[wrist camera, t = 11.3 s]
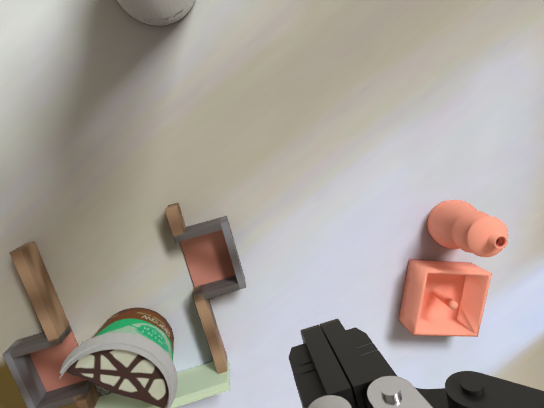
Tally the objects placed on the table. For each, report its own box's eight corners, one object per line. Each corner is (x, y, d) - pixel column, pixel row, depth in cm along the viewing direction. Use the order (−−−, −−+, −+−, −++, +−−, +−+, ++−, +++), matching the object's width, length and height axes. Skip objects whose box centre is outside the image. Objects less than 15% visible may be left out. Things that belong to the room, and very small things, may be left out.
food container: (201, 322, 47) (196, 371, 37) (179, 361, 47) (168, 419, 38) (112, 282, 44) (81, 324, 35) (89, 324, 45) (53, 376, 35)
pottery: (457, 320, 53) (510, 362, 43) (397, 319, 51) (438, 361, 42) (483, 200, 49) (545, 216, 40) (420, 195, 48) (469, 210, 38)
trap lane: (-22, 256, 42) (-54, 272, 37) (219, 191, 44) (219, 198, 39) (53, 419, 47) (33, 452, 42) (266, 352, 49) (271, 376, 44)
